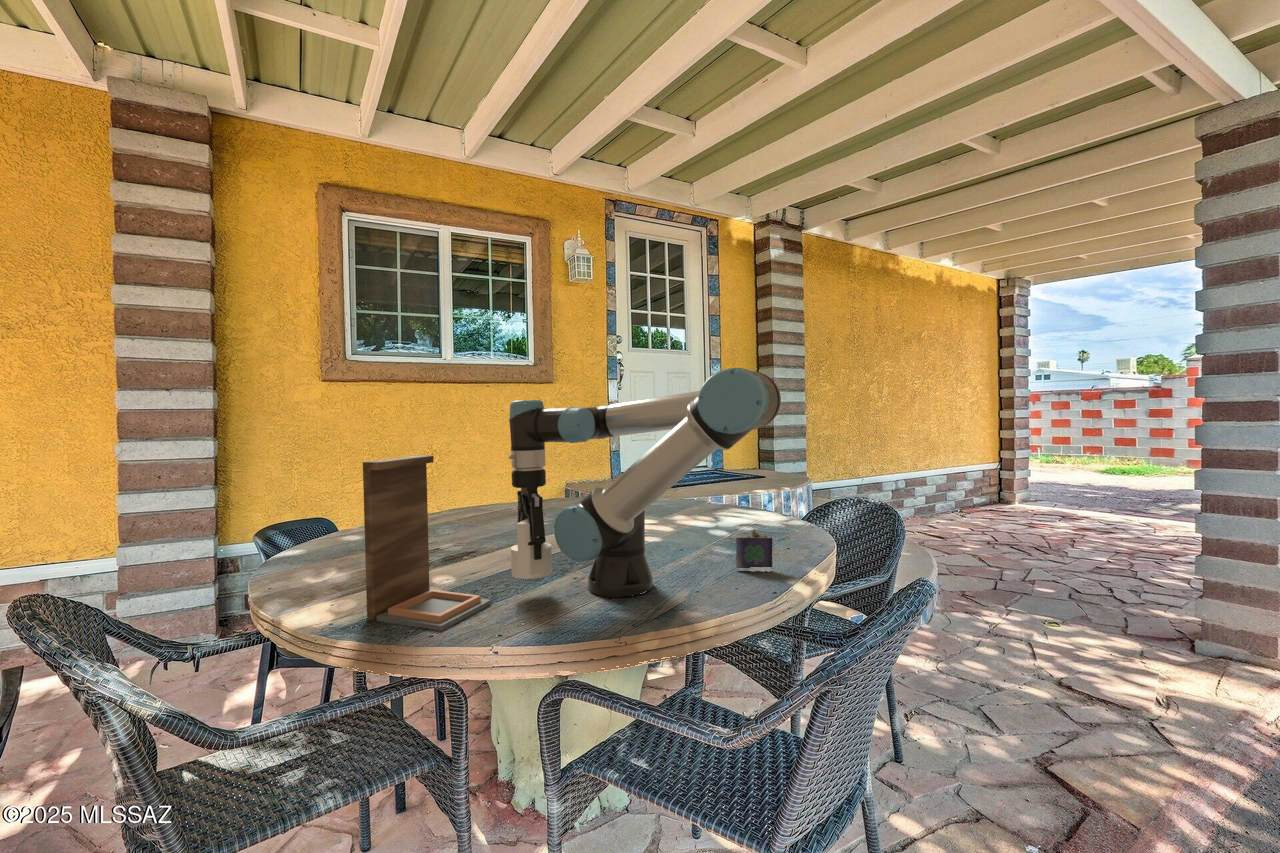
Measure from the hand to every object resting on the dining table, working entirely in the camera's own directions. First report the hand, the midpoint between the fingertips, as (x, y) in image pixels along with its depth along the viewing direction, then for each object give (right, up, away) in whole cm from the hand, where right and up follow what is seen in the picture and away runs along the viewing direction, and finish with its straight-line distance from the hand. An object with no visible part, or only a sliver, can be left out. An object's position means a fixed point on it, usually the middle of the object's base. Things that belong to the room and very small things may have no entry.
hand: (531, 568), depth 133 cm
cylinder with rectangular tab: (0, -1, 0) cm, 1 cm away
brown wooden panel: (-27, -7, -6) cm, 29 cm away
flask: (+54, -5, +18) cm, 57 cm away
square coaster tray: (-18, -7, -10) cm, 22 cm away
